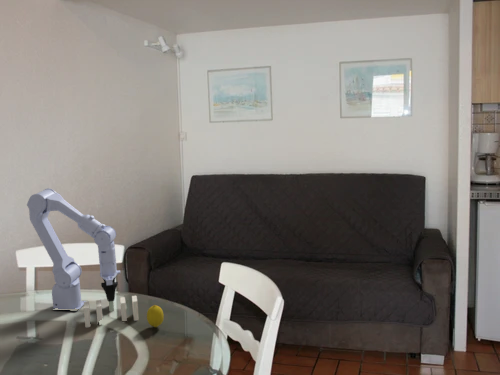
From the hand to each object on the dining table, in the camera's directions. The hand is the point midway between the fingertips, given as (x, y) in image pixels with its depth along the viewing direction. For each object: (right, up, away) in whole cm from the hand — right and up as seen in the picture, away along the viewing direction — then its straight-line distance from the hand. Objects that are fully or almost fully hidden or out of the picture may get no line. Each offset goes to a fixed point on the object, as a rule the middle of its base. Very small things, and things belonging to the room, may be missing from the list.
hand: (110, 296), depth 192 cm
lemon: (+19, -8, -14) cm, 25 cm away
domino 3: (0, -5, +1) cm, 5 cm away
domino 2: (-1, -7, -9) cm, 12 cm away
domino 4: (+7, -6, -7) cm, 12 cm away
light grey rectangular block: (-5, -7, -10) cm, 14 cm away
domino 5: (+10, -6, -6) cm, 14 cm away
